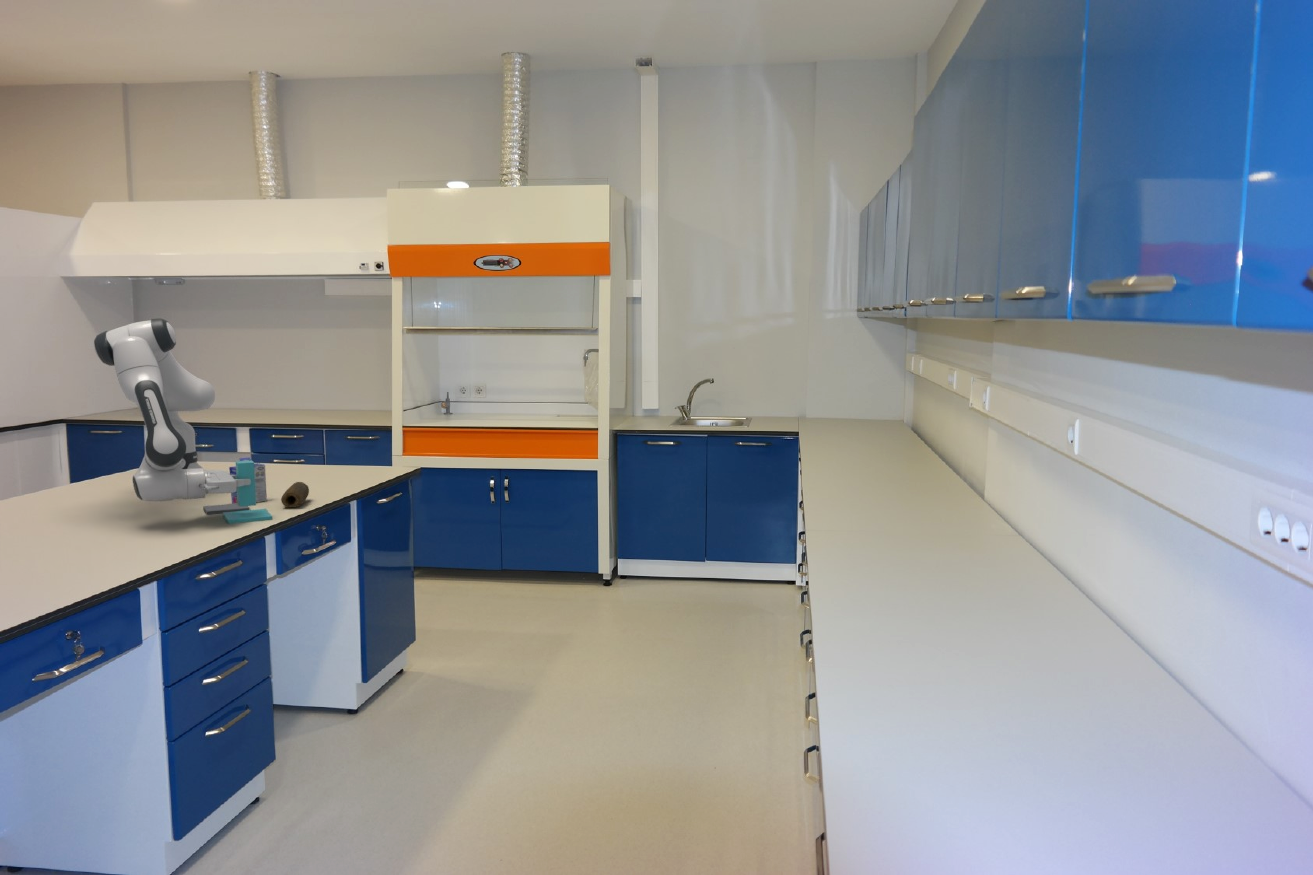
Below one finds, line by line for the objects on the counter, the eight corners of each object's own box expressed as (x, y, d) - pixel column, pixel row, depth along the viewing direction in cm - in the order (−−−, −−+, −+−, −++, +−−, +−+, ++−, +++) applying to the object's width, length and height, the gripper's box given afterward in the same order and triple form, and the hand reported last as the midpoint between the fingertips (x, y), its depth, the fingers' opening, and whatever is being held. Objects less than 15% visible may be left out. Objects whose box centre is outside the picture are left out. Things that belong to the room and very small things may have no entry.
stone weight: (287, 500, 299) (286, 480, 298) (310, 500, 301) (309, 480, 300) (280, 510, 284) (279, 489, 284) (304, 509, 286) (303, 488, 285)
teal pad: (222, 515, 274) (222, 512, 274) (265, 511, 281) (265, 508, 281) (228, 523, 264) (228, 520, 264) (272, 519, 271) (272, 516, 271)
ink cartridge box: (259, 498, 300) (257, 455, 298) (268, 501, 297) (266, 457, 295) (229, 503, 292) (228, 459, 291) (238, 505, 289) (236, 461, 287)
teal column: (237, 504, 272) (235, 461, 271) (253, 502, 275) (251, 460, 273) (239, 506, 269) (237, 463, 267) (255, 505, 271) (254, 462, 269)
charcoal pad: (203, 509, 283) (203, 506, 282) (245, 505, 289) (244, 502, 289) (206, 514, 275) (206, 511, 275) (249, 511, 281) (249, 507, 281)
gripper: (201, 478, 255) (254, 474, 262) (193, 467, 272) (243, 464, 279) (202, 500, 256) (254, 496, 263) (194, 488, 273) (244, 484, 280)
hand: (248, 479), depth 271 cm, fingers closed on teal column, 4 cm apart
